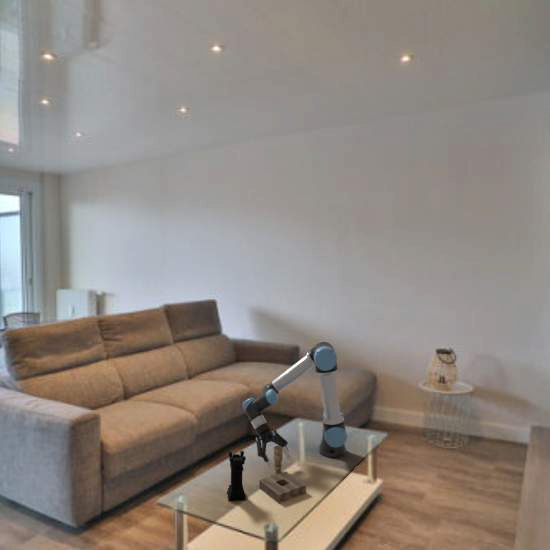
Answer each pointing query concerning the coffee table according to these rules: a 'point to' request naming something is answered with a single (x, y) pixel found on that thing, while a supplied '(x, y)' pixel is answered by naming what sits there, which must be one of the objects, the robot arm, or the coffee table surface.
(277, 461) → the oak peg
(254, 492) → the coffee table surface
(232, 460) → the chess piece
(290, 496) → the walnut board
